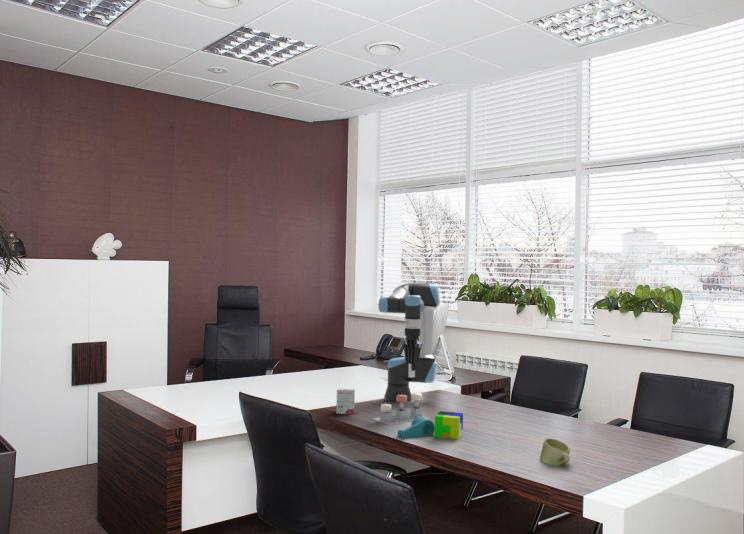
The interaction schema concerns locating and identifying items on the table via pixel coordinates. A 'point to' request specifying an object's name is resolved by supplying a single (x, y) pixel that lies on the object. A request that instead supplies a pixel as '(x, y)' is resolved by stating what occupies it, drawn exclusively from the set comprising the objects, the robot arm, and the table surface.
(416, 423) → the tape dispenser
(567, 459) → the mug
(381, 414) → the console
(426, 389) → the table surface
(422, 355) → the robot arm
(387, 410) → the knob outer
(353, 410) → the ink box
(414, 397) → the knob inner
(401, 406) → the knob mid
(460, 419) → the puzzle toy
